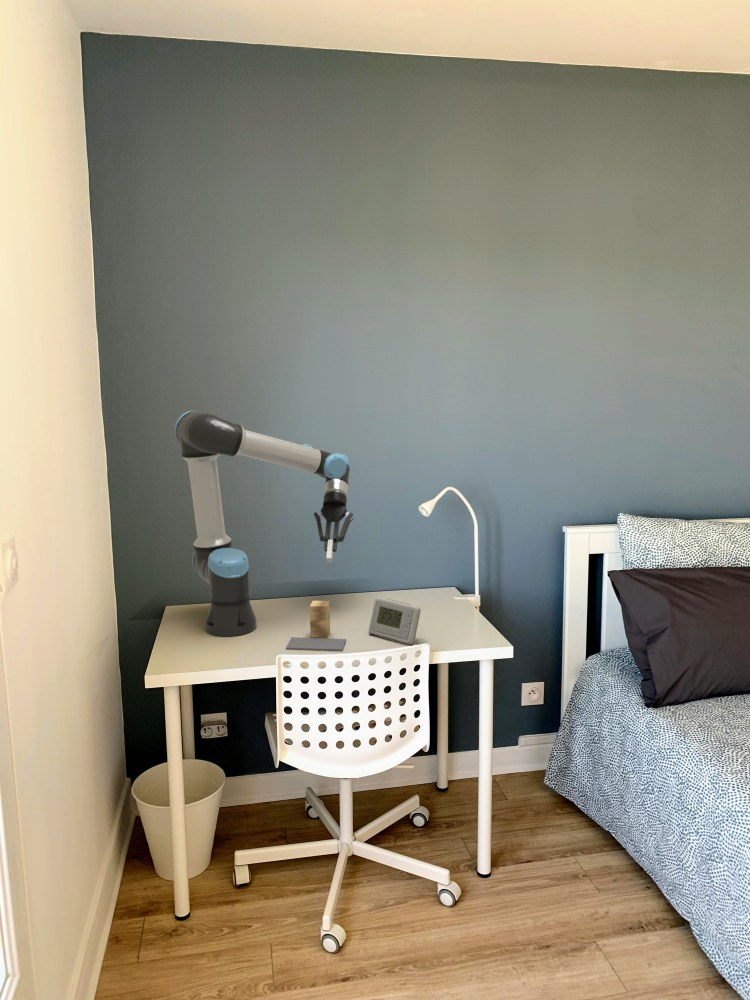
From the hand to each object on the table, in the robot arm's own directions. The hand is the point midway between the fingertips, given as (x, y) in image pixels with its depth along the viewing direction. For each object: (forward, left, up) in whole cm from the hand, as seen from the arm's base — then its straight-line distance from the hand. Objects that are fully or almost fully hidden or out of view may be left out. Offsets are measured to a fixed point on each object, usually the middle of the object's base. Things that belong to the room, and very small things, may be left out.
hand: (329, 559), depth 238 cm
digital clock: (+21, -16, -19) cm, 32 cm away
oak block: (-1, -16, -19) cm, 25 cm away
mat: (-1, -23, -19) cm, 30 cm away
